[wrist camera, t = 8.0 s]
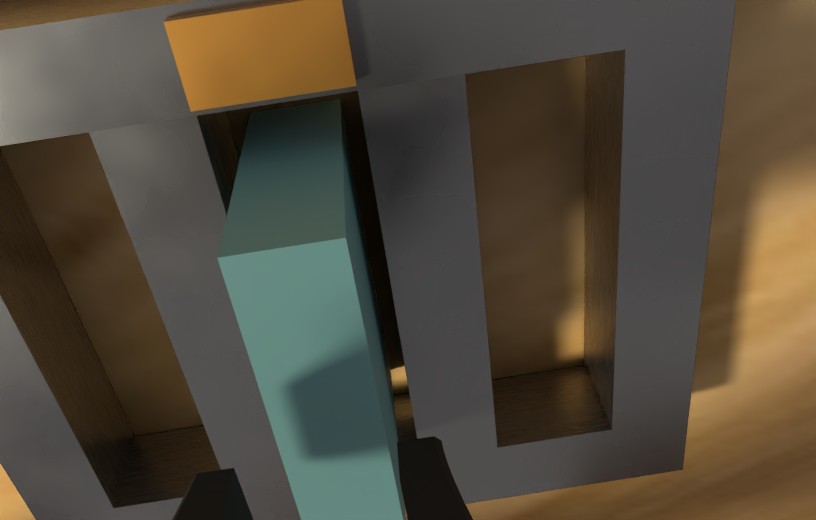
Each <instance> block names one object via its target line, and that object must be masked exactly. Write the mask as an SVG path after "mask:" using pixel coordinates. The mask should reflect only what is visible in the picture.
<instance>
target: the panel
mask: <svg viewBox="0 0 816 520" xmlns="http://www.w3.org/2000/svg"><path fill="white" fill-rule="evenodd" d="M217 259H218V262H219V265H220V268H221V271H222V274H223V278H224V281H225V284H226V287H227V290H228V293H229V296H230V299H231V303H232V306H233V309H234V312H235V315H236V318H237V321H238V324H239V327H240V331H241V334H242V337H243V340H244V343H245V346H246V349H247V352H248V356H249V359H250V362H251V365H252V368H253V371H254V374H255V377H256V380H257V384H258V387H259V390H260V393H261V396H262V399H263V402H264V405H265V409H266V412H267V415H268V418H269V421H270V424H271V427H272V430H273V434H274V437H275V440H276V443H277V446H278V449H279V452H280V455H281V458H282V462H283V465H284V468H285V471H286V474H287V477H288V480H289V483H290V487H291V490H292V493H293V496H294V499H295V502H296V505H297V508H298V511H299V515H300V518H301V520H406V511H405V504H404V499H403V494H402V489H401V484H400V477H399V464H398V450H397V442H398V437H397V427H396V418H395V409H394V400H393V390H392V381H391V372H390V366H389V360H388V355H387V349H386V344H385V339H384V333H383V328H382V322H381V317H380V312H379V306H378V301H377V295H376V290H375V285H374V279H373V274H372V268H371V263H370V258H369V252H368V247H367V242H366V236H365V231H364V225H363V220H362V215H361V209H360V204H359V198H358V193H357V188H356V182H355V177H354V171H353V166H352V161H351V155H350V150H349V144H348V139H347V134H346V128H345V123H344V118H343V112H342V107H341V101H340V99H339V100H332V101H326V102H320V103H313V104H307V105H300V106H294V107H287V108H281V109H274V110H268V111H261V112H255V113H250V117H249V122H248V126H247V130H246V135H245V139H244V143H243V148H242V152H241V156H240V161H239V165H238V169H237V174H236V178H235V182H234V187H233V191H232V196H231V200H230V204H229V209H228V213H227V217H226V222H225V226H224V230H223V235H222V239H221V243H220V248H219V252H218V256H217Z"/></svg>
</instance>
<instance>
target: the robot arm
mask: <svg viewBox="0 0 816 520" xmlns="http://www.w3.org/2000/svg"><path fill="white" fill-rule="evenodd" d="M397 450H398V464H399V477H400V484H401V489H402V494H403V499H404V504H405V509H406V514H407V519H408V520H473V519H472V517H471V515H470V513H469V511H468V509H467V507H466V505H465V503H464V500H463V498H462V496H461V494H460V492H459V490H458V487H457V485H456V483H455V480H454V478H453V475H452V473H451V470H450V468H449V465H448V462H447V459H446V456H445V453H444V449H443V445H442V441H441V440H440V439H438V438H436V437H435V436H432V437H425V438H419V439H413V440H406V441H400V442H397ZM172 520H253V517H252V514H251V512H250V509H249V506H248V504H247V501H246V499H245V496H244V493H243V491H242V488H241V485H240V483H239V480H238V477H237V475H236V472H235V469H234V468H229V469H223V470H216V471H210V472H204V473H197V474H196V475H195V477H194V478H193V479H192V481H191V483H190V485H189V487H188V489H187V491H186V493H185V495H184V497H183V499H182V501H181V503H180V505H179V507H178V509H177V511H176V513H175V515H174V517H173V519H172Z"/></svg>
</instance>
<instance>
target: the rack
mask: <svg viewBox="0 0 816 520" xmlns="http://www.w3.org/2000/svg"><path fill="white" fill-rule="evenodd" d="M735 4H736V0H9V1H2V2H0V146H4V145H11V144H17V143H24V142H30V141H36V140H43V139H49V138H56V137H62V136H69V135H75V134H82V133H88V132H89V134H90V137H91V139H92V142H93V145H94V147H95V150H96V152H97V155H98V157H99V160H100V162H101V165H102V168H103V170H104V173H105V175H106V178H107V180H108V183H109V185H110V188H111V190H112V193H113V196H114V198H115V201H116V203H117V206H118V208H119V211H120V213H121V216H122V218H123V221H124V224H125V226H126V229H127V231H128V234H129V236H130V239H131V241H132V244H133V247H134V249H135V252H136V254H137V257H138V259H139V262H140V264H141V267H142V269H143V272H144V275H145V277H146V280H147V282H148V285H149V287H150V290H151V292H152V295H153V298H154V300H155V303H156V305H157V308H158V310H159V313H160V315H161V318H162V320H163V323H164V326H165V328H166V331H167V333H168V336H169V338H170V341H171V343H172V346H173V349H174V351H175V354H176V356H177V359H178V361H179V364H180V366H181V369H182V371H183V374H184V377H185V379H186V382H187V384H188V387H189V389H190V392H191V394H192V397H193V400H194V402H195V405H196V407H197V410H198V412H199V415H200V417H201V420H202V422H203V425H204V426H198V427H192V428H186V429H179V430H173V431H166V432H160V433H154V434H147V435H141V436H134V434H133V432H132V430H131V427H130V425H129V423H128V421H127V419H126V417H125V415H124V412H123V410H122V408H121V406H120V404H119V402H118V400H117V398H116V395H115V393H114V391H113V389H112V387H111V385H110V383H109V381H108V378H107V376H106V374H105V372H104V370H103V368H102V366H101V364H100V361H99V359H98V357H97V355H96V353H95V351H94V349H93V346H92V344H91V342H90V340H89V338H88V336H87V334H86V332H85V329H84V327H83V325H82V323H81V321H80V319H79V317H78V315H77V312H76V310H75V308H74V306H73V304H72V302H71V300H70V297H69V295H68V293H67V291H66V289H65V287H64V285H63V283H62V280H61V278H60V276H59V274H58V272H57V270H56V268H55V266H54V263H53V261H52V259H51V257H50V255H49V253H48V251H47V249H46V246H45V244H44V242H43V240H42V238H41V236H40V234H39V231H38V229H37V227H36V225H35V223H34V221H33V219H32V217H31V214H30V212H29V210H28V208H27V206H26V204H25V202H24V200H23V197H22V195H21V193H20V191H19V189H18V187H17V185H16V183H15V180H14V178H13V176H12V174H11V172H10V170H9V168H8V165H7V163H6V161H5V159H4V157H3V155H2V153H1V151H0V463H1V465H2V466H3V468H4V470H5V471H6V473H7V474H8V476H9V478H10V479H11V481H12V482H13V484H14V485H15V487H16V489H17V490H18V492H19V493H20V495H21V497H22V498H23V500H24V501H25V503H26V505H27V506H28V508H29V509H30V511H31V512H32V514H33V516H34V517H35V519H36V520H172V519H173V517H174V515H175V513H176V511H177V509H178V507H179V505H180V503H181V501H182V499H183V497H184V495H185V493H186V491H187V489H188V487H189V485H190V483H191V481H192V479H193V478H194V477H195V475H196V474H197V473H204V472H210V471H216V470H223V469H229V468H234V469H235V472H236V475H237V477H238V480H239V483H240V485H241V488H242V491H243V493H244V496H245V499H246V501H247V504H248V506H249V509H250V512H251V514H252V517H253V520H301V518H300V515H299V511H298V508H297V505H296V502H295V499H294V496H293V493H292V490H291V487H290V483H289V480H288V477H287V474H286V471H285V468H284V465H283V462H282V458H281V455H280V452H279V449H278V446H277V443H276V440H275V437H274V434H273V430H272V427H271V424H270V421H269V418H268V415H267V412H266V409H265V405H264V402H263V399H262V396H261V393H260V390H259V387H258V384H257V380H256V377H255V374H254V371H253V368H252V365H251V362H250V359H249V356H248V352H247V349H246V346H245V343H244V340H243V337H242V334H241V331H240V327H239V324H238V321H237V318H236V315H235V312H234V309H233V306H232V303H231V299H230V296H229V293H228V290H227V287H226V284H225V281H224V278H223V274H222V271H221V268H220V265H219V262H218V259H217V256H218V252H219V248H220V243H221V239H222V235H223V230H224V226H225V222H226V217H227V213H228V209H229V204H230V200H231V196H232V191H233V187H234V182H235V178H236V174H237V169H238V165H239V159H238V156H237V152H236V149H235V145H234V141H233V138H232V134H231V131H230V127H229V123H228V120H227V116H226V113H225V111H230V110H237V109H243V108H250V107H256V106H263V105H269V104H276V103H282V102H288V101H295V100H301V99H308V98H314V97H321V96H327V95H334V94H340V93H347V92H353V91H358V95H359V101H360V107H361V113H362V119H363V125H364V130H365V136H366V142H367V148H368V154H369V160H370V165H371V171H372V177H373V183H374V189H375V195H376V201H377V206H378V212H379V218H380V224H381V230H382V236H383V241H384V247H385V253H386V259H387V265H388V271H389V277H390V282H391V288H392V294H393V300H394V306H395V312H396V317H397V323H398V329H399V335H400V341H401V347H402V352H403V358H404V364H405V370H406V376H407V382H408V388H409V393H408V394H402V395H395V396H393V400H394V409H395V418H396V427H397V437H398V442H400V441H406V440H413V439H419V438H425V437H432V436H435V437H436V438H438V439H440V440H441V441H442V445H443V449H444V453H445V456H446V459H447V462H448V465H449V468H450V470H451V473H452V475H453V478H454V480H455V483H456V485H457V487H458V490H459V492H460V494H461V496H462V498H463V500H464V503H465V504H468V503H475V502H481V501H487V500H494V499H500V498H506V497H513V496H519V495H525V494H531V493H538V492H544V491H550V490H557V489H563V488H569V487H576V486H582V485H588V484H595V483H601V482H607V481H614V480H620V479H626V478H633V477H639V476H645V475H651V474H658V473H664V472H670V471H677V470H683V461H684V452H685V443H686V434H687V426H688V417H689V408H690V399H691V391H692V382H693V373H694V364H695V355H696V347H697V338H698V329H699V320H700V312H701V303H702V294H703V285H704V276H705V268H706V259H707V250H708V241H709V233H710V224H711V215H712V206H713V197H714V189H715V180H716V171H717V162H718V154H719V145H720V136H721V127H722V118H723V110H724V101H725V92H726V83H727V75H728V66H729V57H730V48H731V39H732V31H733V22H734V13H735ZM579 56H586V136H585V317H584V366H579V367H573V368H567V369H560V370H554V371H548V372H541V373H535V374H529V375H522V376H516V377H510V378H503V379H497V380H492V379H491V368H490V356H489V345H488V333H487V322H486V310H485V299H484V287H483V276H482V264H481V253H480V241H479V230H478V218H477V207H476V195H475V184H474V172H473V161H472V149H471V138H470V126H469V115H468V103H467V92H466V80H465V74H469V73H476V72H482V71H489V70H495V69H502V68H508V67H515V66H521V65H527V64H534V63H540V62H547V61H553V60H560V59H566V58H573V57H579ZM405 511H406V509H405ZM406 518H407V514H406Z"/></svg>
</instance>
